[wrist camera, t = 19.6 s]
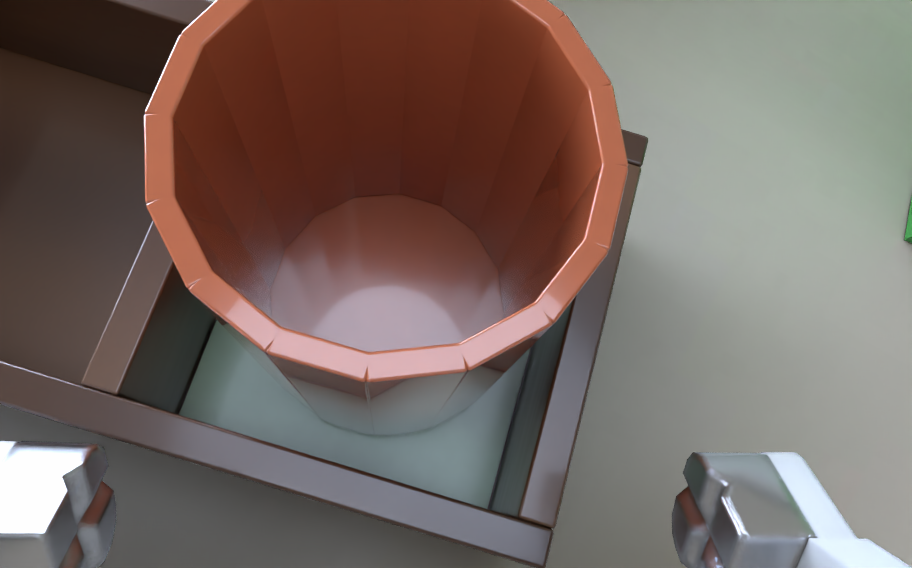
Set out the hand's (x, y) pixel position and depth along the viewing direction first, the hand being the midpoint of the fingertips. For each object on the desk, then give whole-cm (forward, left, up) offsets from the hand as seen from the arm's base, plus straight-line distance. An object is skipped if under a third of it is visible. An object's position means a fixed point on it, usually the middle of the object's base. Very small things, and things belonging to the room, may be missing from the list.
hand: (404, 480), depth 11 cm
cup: (+4, +2, -9) cm, 10 cm away
